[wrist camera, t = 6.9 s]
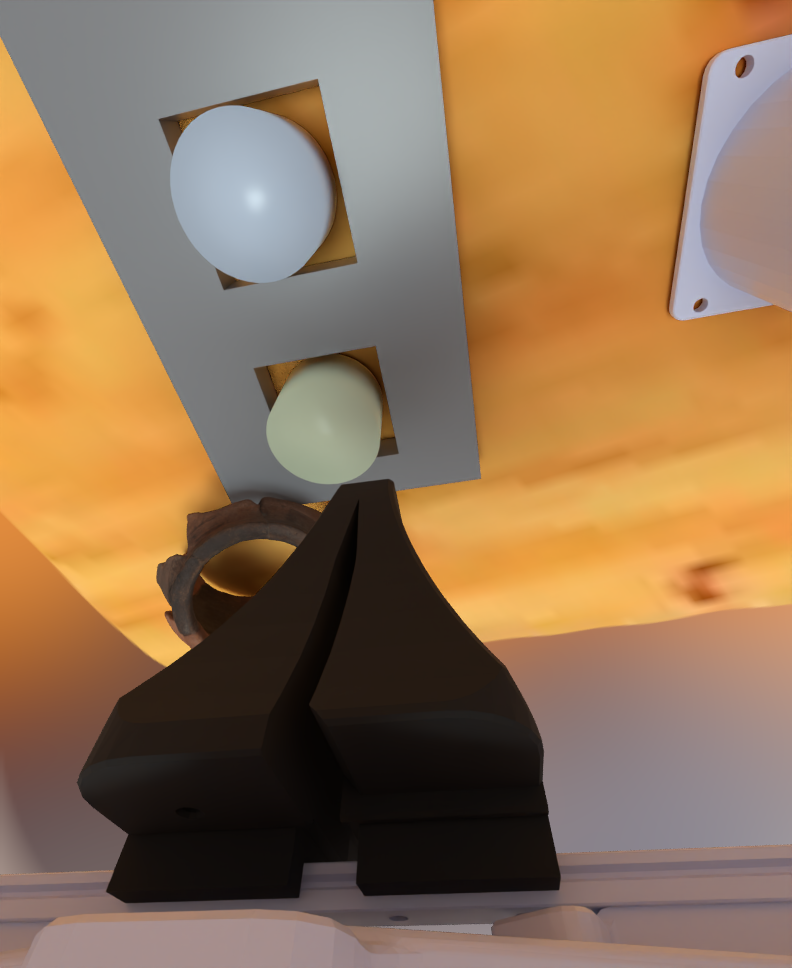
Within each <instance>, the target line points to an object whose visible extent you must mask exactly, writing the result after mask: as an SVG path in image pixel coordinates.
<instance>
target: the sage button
mask: <svg viewBox="0 0 792 968" xmlns="http://www.w3.org/2000/svg"><path fill="white" fill-rule="evenodd" d="M382 412H383V397H382V392H381V388H380V386H379V384H378V382H377V380H376V378H375V377H374V375H373V374H372V373H371V372H370V371H369V370H368V369H367V368H366V367H365V366H364V365H362V364H361V363H360V362H358V361H356V360H354V359H352V358H350V357H347V356H343V355H339V354H329V355H323V356H318V357H312V358H307V359H305V360H304V361H302V362H300V363H299V364H298V365H297V366H296V367H295V368H294V369H293V370H292V371H291V373H290V374H289V376H288V378H287V380H286V382H285V384H284V386H283V388H282V390H281V392H280V394H279V396H278V398H277V400H276V402H275V404H274V406H273V408H272V410H271V412H270V414H269V417H268V420H267V426H266V434H267V440H268V444H269V447H270V449H271V451H272V453H273V454H274V456H275V458H276V459H277V460H278V461H279V463H280V464H281V465H282V466H283V467H284V468H285V469H287V470H288V471H289V472H291V473H292V474H294V475H296V476H297V477H300V478H302V479H304V480H307V481H310V482H314V483H319V484H339V483H344V482H347V481H350V480H352V479H355V478H357V477H358V476H360V475H361V474H363V473H364V472H365V471H366V470H368V468H369V467H370V466H371V465H372V464H373V462H374V461H375V459H376V457H377V454H378V451H379V447H380V438H381V425H382Z"/></svg>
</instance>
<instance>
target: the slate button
mask: <svg viewBox="0 0 792 968" xmlns="http://www.w3.org/2000/svg"><path fill="white" fill-rule="evenodd" d="M170 187H171V195H172V200H173V204H174V208H175V211H176V214H177V217H178V220H179V222H180V224H181V226H182V228H183V230H184V232H185V233H186V235H187V237H188V239H189V240H190V241H191V243H192V244H193V246H194V247H195V248H196V249H197V250H198V252H199V253H200V254H201V255H202V256H203V257H204V258H205V259H206V260H207V261H208V262H210V263H211V264H212V265H213V266H215V267H216V268H217V269H219V270H220V271H222V272H224V273H226V274H227V275H230V276H232V277H234V278H237V279H240V280H243V281H247V282H253V283H269V282H275V281H279V280H282V279H284V278H287V277H289V276H291V275H292V274H294V273H295V272H297V271H298V270H299V269H300V268H301V267H303V266H304V265H305V264H306V262H307V261H308V260H309V259H310V258H311V256H312V255H313V254H314V253H315V252H316V250H317V249H318V248H319V247H320V246H321V244H322V243H323V242H324V241H325V239H326V238H327V236H328V234H329V232H330V230H331V228H332V225H333V222H334V219H335V214H336V206H337V192H336V184H335V179H334V175H333V172H332V169H331V166H330V164H329V161H328V159H327V157H326V155H325V153H324V152H323V150H322V149H321V147H320V146H319V144H318V143H317V141H316V140H315V139H314V138H313V137H312V136H311V135H310V134H309V133H308V132H307V131H306V130H305V129H304V128H303V127H301V126H300V125H298V124H297V123H295V122H294V121H292V120H290V119H288V118H286V117H283V116H280V115H277V114H273V113H269V112H266V111H262V110H258V109H254V108H250V107H244V106H232V105H228V106H222V107H217V108H214V109H211V110H208V111H206V112H205V113H203V114H201V115H199V116H198V117H197V118H196V119H194V120H193V121H192V122H191V123H190V124H189V125H188V126H187V128H186V129H185V130H184V131H183V133H182V135H181V136H180V138H179V140H178V142H177V145H176V147H175V149H174V153H173V157H172V161H171V169H170Z"/></svg>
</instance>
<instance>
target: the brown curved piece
mask: <svg viewBox="0 0 792 968" xmlns="http://www.w3.org/2000/svg"><path fill="white" fill-rule="evenodd" d="M321 514H322V513H321V512H319V511H317V510H315V509H312V508H310V507H307V506H304V505H302V504H299V503H296V502H292V501H289V500H282V499H277V498H273V497H263V498H262V499H261V500H260V502H259V503H258V504H256V503H255V502H253V501H252V500H249V499H246V500H242V501H238V502H235V503H232V504H230V505H228V506H226V507H222V508H220V509H218V510H214V511H210V512H205V513H199V512H198V513H192V514H188V515H187V520H188V523H187V540H188V551H187V554H184V555H178V554H176V555H174V556H171V557H169V558H168V559H167V560H166V562H164V563H160V564H159V565H158V567H157V577H156V579H157V583H158V584H159V586H160V588H161V589H162V592H163V594H164V596H165V598H166V599H167V601H168V603H169V605H170V606H171V607H172V611H166V612H165V617H166V619H167V621H168V623H169V625H170V626H171V628H172V629H173V631H174V632H175V633H176V634H177V635H178V637H179V638H180V639H181V640H182V641H184V642H185V643H186V644H187V645H189V646H190V648H191V649H192V648H194V647H195V646H196V645H198V644H199V643H200V642H202V641H203V640H204V639H205V638H207V637H208V636H209V635H210V634H212V633H213V632H214V631H215V630H217V629H218V628H219V627H220V626H221V625H223V624H224V623H225V622H226V621H227V620H228V619H229V618H230V617H231V616H233V615H234V614H235V613H236V612H237V611H238V610H239V609H240V608H242V607H243V606H244V605H245V604H246V603H247V602H248V601H249V600H250V599H251V598H252V597H254V596H251V597H246V596H234V595H231V594H228V593H225V592H221V591H218V590H216V589H214V588H212V587H211V586H210V585H208V584H207V583H205V581H204V580H203V578H202V577H201V576H200V572H201V570H202V569H203V567H204V565H205V564H206V563H207V562H208V561H209V560H210V559H211V558H212V557H214V556H215V555H217V554H218V553H220V552H221V551H223V550H224V549H226V548H228V547H230V546H232V545H234V544H237V543H239V542H242V541H247V540H254V539H269V540H276V541H282V542H286V543H288V544H291V545H294V546H296V547H298V546H299V544H300V543H301V542H302V540H303V539H304V538H305V536H306V535H307V533H308V532H309V531H310V529H311V528H312V527H313V525H314V524H315V522H316V521H317V520H318V518H319V517H320V515H321Z"/></svg>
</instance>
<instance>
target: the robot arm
mask: <svg viewBox="0 0 792 968" xmlns="http://www.w3.org/2000/svg"><path fill="white" fill-rule="evenodd" d="M742 57H744V58H745V60H746V69H745V71H744V73H743V74H742V75H741V77H740V78H738V77H737V76H736V75H735V68H736V65H737V63H738V61H739V60H740V59H741V58H742ZM701 298H702V299H703V302H702V304H701V306H700V307H699V308H697V309H693V306H694V304H695V302H696V301H697V300H699V299H701ZM770 305H776V306H779V307H781V308H783V309H786V310H788V311H790V312H792V34H790V35H786V36H782V37H778V38H773V39H769V40H765V41H761V42H756V43H752V44H748V45H744V46H740V47H735V48H731V49H727V50H724V51H722V52H720V53H718V54H716V55H715V56H714V57H713V58H712V59H711V60H710V61H709V63H708V65H707V66H706V68H705V72H704V75H703V80H702V87H701V94H700V101H699V108H698V114H697V121H696V128H695V135H694V142H693V148H692V155H691V162H690V169H689V176H688V182H687V189H686V196H685V203H684V210H683V217H682V223H681V230H680V237H679V244H678V251H677V257H676V264H675V271H674V278H673V285H672V291H671V298H670V305H669V313H670V314H671V316H672V317H674V318H676V319H677V320H689V319H695V318H701V317H707V316H712V315H718V314H724V313H730V312H735V311H741V310H747V309H753V308H758V307H764V306H770ZM543 757H544V750H543V744H542V740H541V736H540V733H539V731H538V728H537V725H536V723H535V720H534V718H533V716H532V714H531V712H530V710H529V708H528V706H527V704H526V702H525V700H524V698H523V696H522V694H521V693H520V691H519V689H518V687H517V685H516V684H515V682H514V680H513V678H512V677H511V675H510V673H509V671H508V670H507V668H506V666H505V665H504V664H503V663H502V662H501V661H500V660H499V659H498V658H497V657H496V656H495V655H494V654H493V653H491V651H490V650H488V648H487V647H486V646H485V645H484V644H483V643H482V642H481V641H480V640H479V639H478V638H477V637H476V635H475V634H474V633H473V632H472V631H471V630H470V629H469V628H468V626H467V625H466V624H465V623H464V622H463V621H462V619H461V618H460V617H459V615H458V614H457V613H456V612H455V610H454V609H453V608H452V607H451V605H450V604H449V603H448V601H447V600H446V599H445V598H444V596H443V595H442V594H441V592H440V591H439V589H438V588H437V586H436V585H435V583H434V582H433V580H432V579H431V577H430V576H429V574H428V572H427V571H426V569H425V568H424V566H423V564H422V563H421V561H420V559H419V557H418V555H417V554H416V552H415V550H414V548H413V546H412V544H411V542H410V540H409V538H408V535H407V533H406V531H405V528H404V526H403V523H402V519H401V514H400V509H399V504H398V499H397V495H396V490H395V485H394V482H393V481H392V480H390V479H382V480H374V481H366V482H358V483H350V484H342V485H341V486H340V487H339V488H338V489H337V491H336V492H335V494H334V495H333V497H332V499H331V500H330V502H329V503H328V505H327V506H326V508H325V509H324V511H323V512H322V514H321V515H320V517H319V518H318V520H317V521H316V522H315V524H314V525H313V527H312V528H311V529H310V531H309V532H308V533H307V535H306V536H305V538H304V539H303V540H302V542H301V543H300V544H299V546H298V547H297V548H296V549H295V551H294V552H293V553H292V554H291V556H290V557H289V558H288V559H287V561H286V562H285V563H284V564H283V566H282V567H281V568H280V569H279V570H278V571H277V572H276V574H275V575H274V576H273V577H272V578H271V579H270V580H269V581H268V582H267V583H266V584H265V585H264V586H263V587H262V588H261V589H260V591H259V592H258V593H257V594H256V595H255V596H254V597H252V598H251V599H250V600H249V601H248V602H247V603H246V604H245V605H244V606H243V607H242V608H240V609H239V610H238V611H237V612H236V613H235V614H234V615H233V616H231V617H230V618H229V619H228V620H227V621H226V622H225V623H224V624H223V625H221V626H220V627H219V628H218V629H217V630H215V631H214V632H213V633H212V634H210V635H209V636H208V637H207V638H205V639H204V640H203V641H202V642H200V643H199V644H198V645H196V646H195V647H194V648H192V649H191V650H190V651H188V652H187V653H186V654H184V655H183V656H182V657H180V658H179V659H178V660H176V661H175V662H173V663H172V664H171V665H169V666H168V667H166V668H165V669H163V670H162V671H160V672H159V673H157V674H156V675H155V676H153V677H152V678H150V679H148V680H147V681H145V682H144V683H142V684H141V685H139V686H138V687H136V688H135V689H133V690H132V691H130V692H129V693H127V694H126V695H124V696H122V697H121V698H119V700H118V702H117V704H116V705H115V707H114V709H113V711H112V713H111V715H110V717H109V718H108V720H107V722H106V724H105V726H104V728H103V730H102V732H101V734H100V736H99V738H98V740H97V741H96V743H95V746H94V747H93V749H92V751H91V753H90V755H89V757H88V759H87V761H86V763H85V765H84V767H83V769H82V771H81V773H80V775H79V779H78V782H77V783H78V786H79V789H80V792H81V794H82V797H83V798H84V799H85V800H86V801H87V802H88V803H89V804H90V805H91V806H92V807H93V808H95V809H96V810H97V811H99V812H100V813H101V814H102V815H104V816H105V817H106V818H108V819H109V820H111V821H112V822H113V823H114V824H116V825H117V826H118V827H120V828H121V829H122V830H123V831H125V832H126V833H128V837H127V840H126V842H125V845H124V847H123V849H122V852H121V855H120V857H119V859H118V862H117V864H116V867H115V869H114V870H112V871H110V870H109V871H85V872H57V873H34V874H33V873H31V874H5V875H0V968H792V844H791V845H765V846H741V847H740V846H739V847H713V848H688V849H663V850H662V849H660V850H636V851H635V850H634V851H608V852H582V853H557V854H556V851H555V847H554V842H553V837H552V832H551V828H550V823H549V818H548V813H549V811H548V804H547V799H546V795H545V790H544V786H543V781H542V780H543ZM451 924H452V925H457V924H493V926H492V927H491V930H492V935H481V934H467V933H451V932H437V931H423V930H408V929H394V928H379V927H370V926H409V925H410V926H411V925H451Z"/></svg>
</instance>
